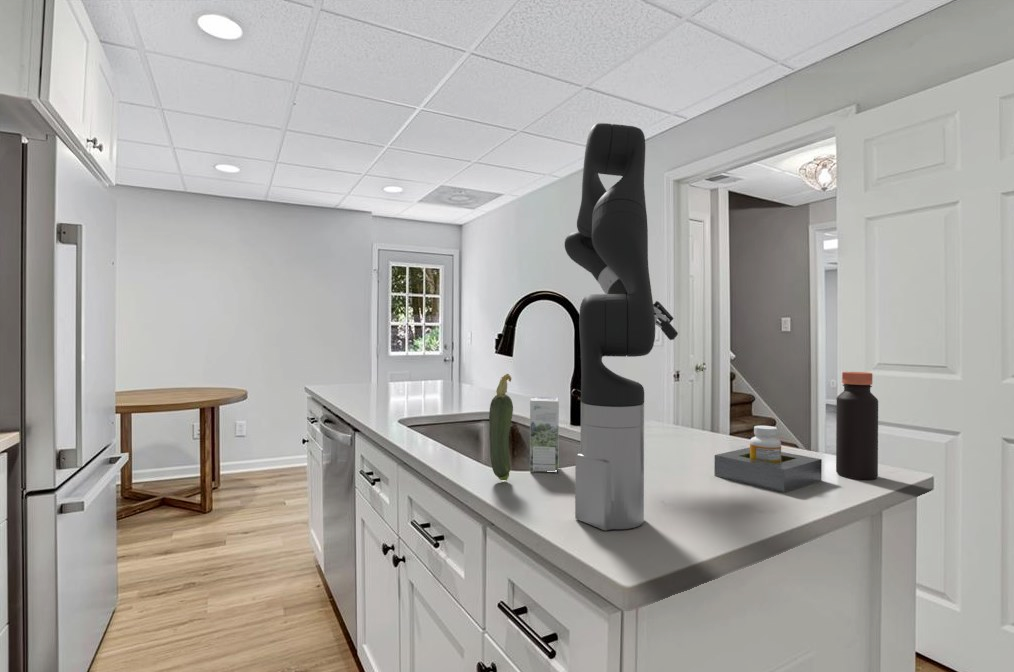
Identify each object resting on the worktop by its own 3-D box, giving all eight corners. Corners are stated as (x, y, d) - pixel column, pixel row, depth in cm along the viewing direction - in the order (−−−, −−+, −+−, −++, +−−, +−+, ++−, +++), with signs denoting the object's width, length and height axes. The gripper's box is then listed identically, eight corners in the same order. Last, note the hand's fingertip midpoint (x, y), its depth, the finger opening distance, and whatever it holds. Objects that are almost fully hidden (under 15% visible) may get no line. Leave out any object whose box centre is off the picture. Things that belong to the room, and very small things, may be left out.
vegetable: (485, 483, 98) (485, 374, 98) (494, 477, 102) (494, 372, 102) (508, 485, 96) (508, 374, 96) (516, 479, 100) (516, 373, 100)
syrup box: (558, 466, 110) (558, 396, 110) (558, 474, 104) (558, 399, 104) (531, 465, 111) (531, 395, 111) (529, 473, 105) (529, 399, 105)
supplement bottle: (752, 473, 106) (753, 423, 106) (783, 477, 102) (783, 426, 102) (747, 478, 101) (747, 427, 101) (778, 483, 98) (778, 430, 98)
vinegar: (883, 481, 99) (883, 374, 99) (841, 478, 101) (841, 373, 101) (871, 472, 106) (871, 372, 106) (832, 470, 108) (832, 371, 108)
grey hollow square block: (784, 492, 92) (784, 469, 92) (714, 475, 103) (714, 455, 103) (821, 480, 100) (821, 459, 100) (752, 465, 111) (753, 446, 111)
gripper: (607, 271, 116) (648, 323, 106) (651, 276, 124) (693, 324, 114) (590, 297, 120) (628, 349, 110) (633, 300, 128) (673, 349, 119)
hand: (661, 337), depth 112 cm, fingers open, 8 cm apart
